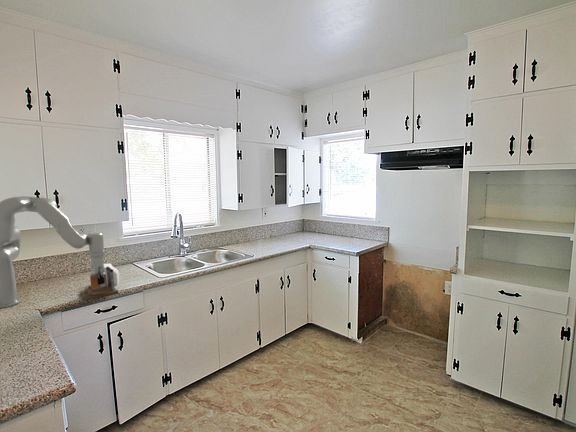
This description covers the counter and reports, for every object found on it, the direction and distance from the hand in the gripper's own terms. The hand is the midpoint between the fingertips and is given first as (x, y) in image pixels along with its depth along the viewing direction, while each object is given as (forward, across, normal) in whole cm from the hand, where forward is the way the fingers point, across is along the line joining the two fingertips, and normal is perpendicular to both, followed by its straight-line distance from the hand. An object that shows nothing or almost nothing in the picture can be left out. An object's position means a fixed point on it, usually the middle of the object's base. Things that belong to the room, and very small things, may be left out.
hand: (99, 282), depth 191 cm
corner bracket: (+7, -17, +10) cm, 21 cm away
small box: (+6, 0, 0) cm, 6 cm away
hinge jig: (+7, 0, 0) cm, 7 cm away
